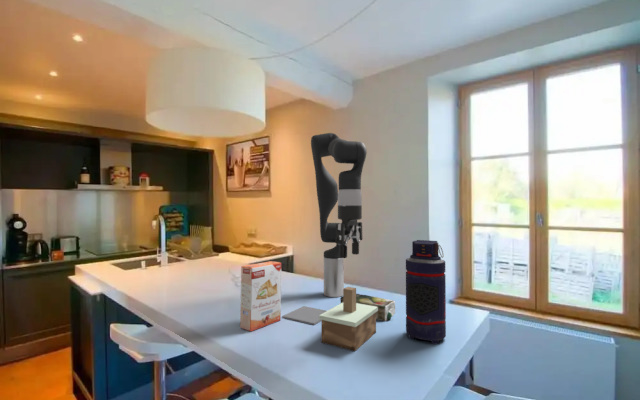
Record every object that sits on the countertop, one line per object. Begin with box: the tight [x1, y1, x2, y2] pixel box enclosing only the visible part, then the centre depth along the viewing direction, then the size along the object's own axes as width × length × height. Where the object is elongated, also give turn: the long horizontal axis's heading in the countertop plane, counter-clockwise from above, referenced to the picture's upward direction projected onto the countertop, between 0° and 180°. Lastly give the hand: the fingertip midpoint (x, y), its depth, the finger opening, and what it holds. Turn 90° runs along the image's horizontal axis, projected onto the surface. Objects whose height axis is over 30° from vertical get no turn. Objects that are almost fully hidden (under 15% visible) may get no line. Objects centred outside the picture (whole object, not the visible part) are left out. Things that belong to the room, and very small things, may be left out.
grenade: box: [405, 239, 447, 345], centre depth 102 cm, size 14×12×30 cm
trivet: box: [281, 305, 327, 326], centre depth 121 cm, size 14×14×1 cm
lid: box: [319, 286, 378, 327], centre depth 101 cm, size 17×12×9 cm
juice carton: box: [339, 293, 396, 322], centre depth 124 cm, size 20×10×6 cm, turn 56°
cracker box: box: [239, 260, 282, 332], centre depth 112 cm, size 14×6×21 cm, turn 142°
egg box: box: [320, 312, 377, 352], centre depth 101 cm, size 16×11×7 cm
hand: (349, 256), depth 101 cm, fingers open, 8 cm apart
